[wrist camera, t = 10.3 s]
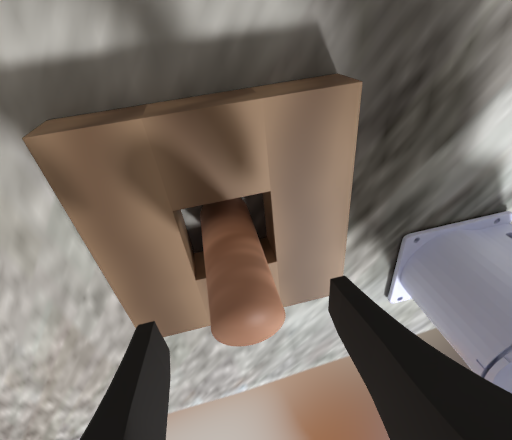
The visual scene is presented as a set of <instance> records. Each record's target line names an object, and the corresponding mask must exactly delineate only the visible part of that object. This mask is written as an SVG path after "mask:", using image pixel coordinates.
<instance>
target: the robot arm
mask: <svg viewBox="0 0 512 440" xmlns="http://www.w3.org/2000/svg"><path fill="white" fill-rule="evenodd" d="M511 221H512V213H511V212H509V211H505V212H501V213H497V214H492V215H488V216H484V217H479V218H475V219H471V220H466V221H462V222H458V223H453V224H449V225H445V226H440V227H436V228H432V229H427V230H423V231H419V232H415V233H410V234H407V235H406V236H404V237H403V239H402V243H401V247H400V251H399V255H398V259H397V263H396V267H395V271H394V275H393V279H392V283H391V287H390V291H389V295H388V301H389V302H390V303H397V302H401V301H405V300H409V299H413V300H414V301H415V302H416V304H417V305H418V306H419V307H420V308H421V310H422V311H423V312H424V313H425V314H426V316H427V317H428V318H429V319H430V320H431V322H432V323H433V324H434V325H435V326H436V328H437V329H438V330H439V331H440V332H441V333H442V335H443V336H444V337H445V338H446V340H447V341H448V342H449V343H450V344H451V346H452V347H453V348H454V349H455V350H456V352H457V353H458V354H459V355H460V356H461V358H462V359H463V360H464V361H465V362H466V364H468V366H469V367H470V368H471V369H472V371H473V372H472V371H470V370H469V369H467V368H465V367H464V366H462V365H460V364H459V363H457V362H455V361H454V360H452V359H451V358H449V357H447V356H446V355H444V354H443V353H441V352H440V351H438V350H437V349H435V348H434V347H432V346H431V345H429V344H428V343H426V342H425V341H423V340H422V339H421V338H419V337H418V336H416V335H415V334H414V333H412V332H411V331H410V330H408V329H407V328H406V327H404V326H403V325H402V324H400V323H399V322H398V321H397V320H395V319H394V318H393V317H392V316H390V315H389V314H388V313H387V312H386V311H384V310H383V309H382V308H381V307H379V306H378V305H377V304H376V303H375V302H374V301H372V300H371V299H370V298H369V297H368V296H367V295H366V294H364V293H363V292H362V291H361V290H360V289H359V288H358V287H357V286H356V285H355V284H353V283H352V282H351V281H350V280H349V279H348V278H347V277H346V276H340V277H336V278H332V279H330V292H329V307H328V310H329V313H330V315H331V318H332V320H333V323H334V325H335V328H336V330H337V333H338V335H339V336H340V338H341V340H342V342H343V344H344V346H345V348H346V350H347V351H348V353H349V355H350V357H351V359H352V361H353V362H354V364H355V366H356V368H357V369H358V372H359V373H360V375H361V377H362V379H363V381H364V383H365V384H366V386H367V388H368V390H369V392H370V394H371V396H372V399H373V401H374V403H375V405H376V408H377V410H378V412H379V415H380V417H381V419H382V421H383V424H384V426H385V428H386V431H387V433H388V436H389V438H390V440H512V224H511ZM169 389H170V351H169V348H168V346H167V344H166V342H165V340H164V338H163V336H162V335H161V333H160V331H159V329H158V327H157V325H156V323H155V321H152V322H148V323H144V324H140V325H138V326H137V327H136V330H135V332H134V334H133V337H132V339H131V341H130V344H129V346H128V348H127V351H126V353H125V355H124V357H123V359H122V361H121V364H120V366H119V368H118V370H117V372H116V374H115V376H114V378H113V380H112V382H111V384H110V386H109V388H108V390H107V392H106V394H105V396H104V398H103V399H102V401H101V403H100V405H99V407H98V409H97V410H96V412H95V414H94V416H93V418H92V420H91V421H90V423H89V425H88V427H87V428H86V430H85V432H84V433H83V435H82V437H81V438H80V440H166V427H167V415H168V402H169Z"/></svg>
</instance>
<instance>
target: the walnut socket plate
mask: <svg viewBox="0 0 512 440" xmlns="http://www.w3.org/2000/svg"><path fill="white" fill-rule="evenodd" d="M361 92H362V81H359V80H356V79H353V78H350V77H347V76H344V75H341V74H331V75H325V76H319V77H313V78H306V79H300V80H294V81H288V82H282V83H275V84H269V85H263V86H257V87H251V88H244V89H238V90H232V91H226V92H220V93H213V94H207V95H201V96H195V97H189V98H182V99H176V100H170V101H164V102H157V103H151V104H145V105H139V106H133V107H126V108H120V109H114V110H108V111H102V112H95V113H89V114H83V115H77V116H71V117H64V118H58V119H52V120H47V121H45V122H44V123H42V124H41V125H40V126H38V127H37V128H35V129H34V130H33V131H31V132H30V133H29V134H27V135H26V136H24V137H23V138H22V139H23V141H24V142H25V144H26V146H27V147H28V149H29V151H30V152H31V154H32V156H33V157H34V159H35V161H36V162H37V164H38V166H39V167H40V169H41V171H42V172H43V174H44V176H45V177H46V179H47V181H48V182H49V184H50V186H51V187H52V189H53V191H54V192H55V194H56V196H57V197H58V199H59V201H60V202H61V204H62V206H63V207H64V209H65V211H66V212H67V214H68V216H69V217H70V219H71V221H72V222H73V224H74V226H75V227H76V229H77V231H78V232H79V234H80V236H81V237H82V239H83V241H84V242H85V244H86V246H87V248H88V249H89V251H90V253H91V254H92V256H93V258H94V259H95V261H96V263H97V264H98V266H99V268H100V269H101V271H102V273H103V274H104V276H105V278H106V279H107V281H108V283H109V284H110V286H111V288H112V289H113V291H114V293H115V294H116V296H117V298H118V299H119V301H120V303H121V304H122V306H123V308H124V309H125V311H126V313H127V314H128V316H129V318H130V319H131V321H132V323H133V324H134V326H135V328H136V327H137V326H138V325H140V324H144V323H148V322H152V321H155V323H156V325H157V327H158V329H159V331H160V333H161V335H162V336H163V337H166V336H170V335H174V334H178V333H182V332H186V331H190V330H194V329H198V328H202V327H206V326H210V325H211V322H210V312H209V302H208V292H207V281H206V271H205V261H204V251H202V252H197V253H194V251H193V248H192V244H191V241H190V238H189V235H188V232H187V228H186V225H185V222H184V219H183V216H182V213H181V209H185V208H190V207H195V206H200V205H205V204H210V203H215V202H220V201H225V200H229V199H234V198H239V197H244V196H249V195H254V194H259V193H262V194H263V203H264V212H265V221H266V231H267V237H266V238H261V239H259V241H260V244H261V246H262V249H263V252H264V255H265V258H266V260H267V263H268V266H269V269H270V271H271V274H272V277H273V280H274V283H275V285H276V288H277V291H278V294H279V297H280V299H281V302H282V305H283V307H287V306H291V305H295V304H299V303H303V302H307V301H311V300H315V299H319V298H323V297H327V296H329V292H330V279H332V278H336V277H340V276H343V270H344V260H345V251H346V241H347V231H348V221H349V211H350V201H351V191H352V181H353V171H354V161H355V151H356V142H357V132H358V122H359V112H360V102H361Z"/></svg>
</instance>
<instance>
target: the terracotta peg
mask: <svg viewBox="0 0 512 440" xmlns="http://www.w3.org/2000/svg"><path fill="white" fill-rule="evenodd" d="M200 220H201V230H202V240H203V250H204V261H205V271H206V281H207V292H208V302H209V312H210V322H211V331H212V334H213V336H214V337H215V339H216V340H218V341H219V342H221V343H223V344H226V345H230V346H248V345H253V344H256V343H259V342H262V341H264V340H266V339H268V338H269V337H271V336H272V335H274V334H275V333H276V332H277V331H278V330H279V329H280V328H281V327H282V325H283V323H284V321H285V310H284V308H283V305H282V302H281V299H280V297H279V294H278V291H277V288H276V285H275V283H274V280H273V277H272V274H271V271H270V269H269V266H268V263H267V260H266V258H265V255H264V252H263V249H262V246H261V244H260V241H259V238H258V235H257V233H256V230H255V227H254V224H253V221H252V219H251V216H250V213H249V210H248V207H247V205H246V203H245V202H244V201H243V200H242V199H241V198H234V199H229V200H225V201H220V202H215V203H210V204H205V205H203V207H202V209H201V213H200Z"/></svg>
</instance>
